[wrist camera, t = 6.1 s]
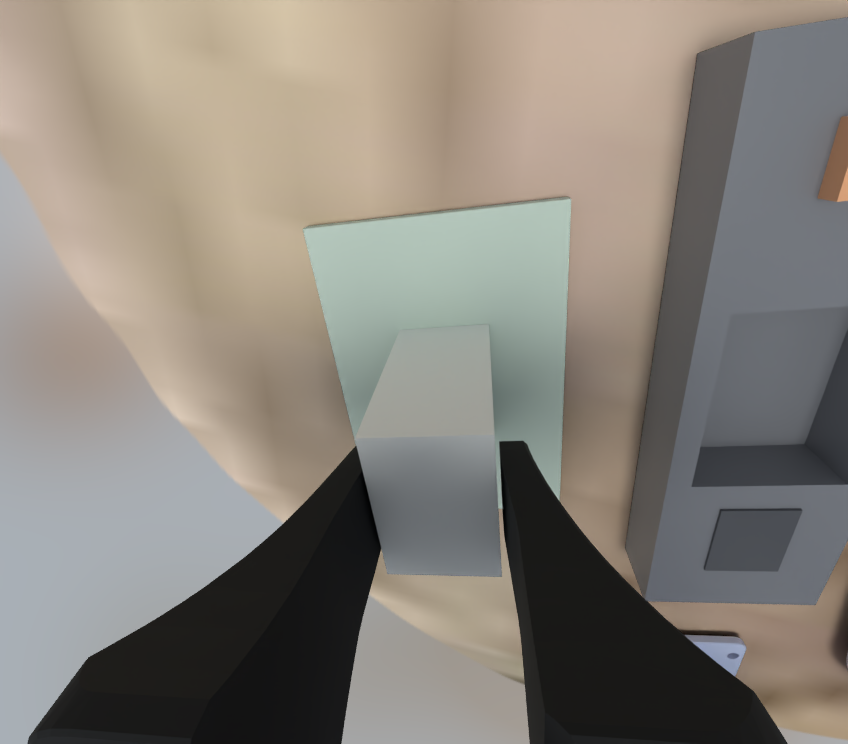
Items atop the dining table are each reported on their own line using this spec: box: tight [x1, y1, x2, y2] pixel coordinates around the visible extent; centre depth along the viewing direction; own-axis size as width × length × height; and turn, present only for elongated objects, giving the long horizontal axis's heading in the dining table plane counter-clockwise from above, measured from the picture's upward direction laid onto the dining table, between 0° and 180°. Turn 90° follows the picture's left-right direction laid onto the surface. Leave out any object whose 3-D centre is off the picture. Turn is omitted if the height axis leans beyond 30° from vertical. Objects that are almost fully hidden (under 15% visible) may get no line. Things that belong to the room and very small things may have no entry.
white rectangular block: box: [355, 324, 502, 577], centre depth 13 cm, size 4×3×6 cm, turn 7°
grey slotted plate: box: [625, 17, 848, 605], centre depth 13 cm, size 18×6×3 cm, turn 7°
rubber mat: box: [303, 197, 571, 509], centre depth 16 cm, size 12×8×1 cm, turn 7°
